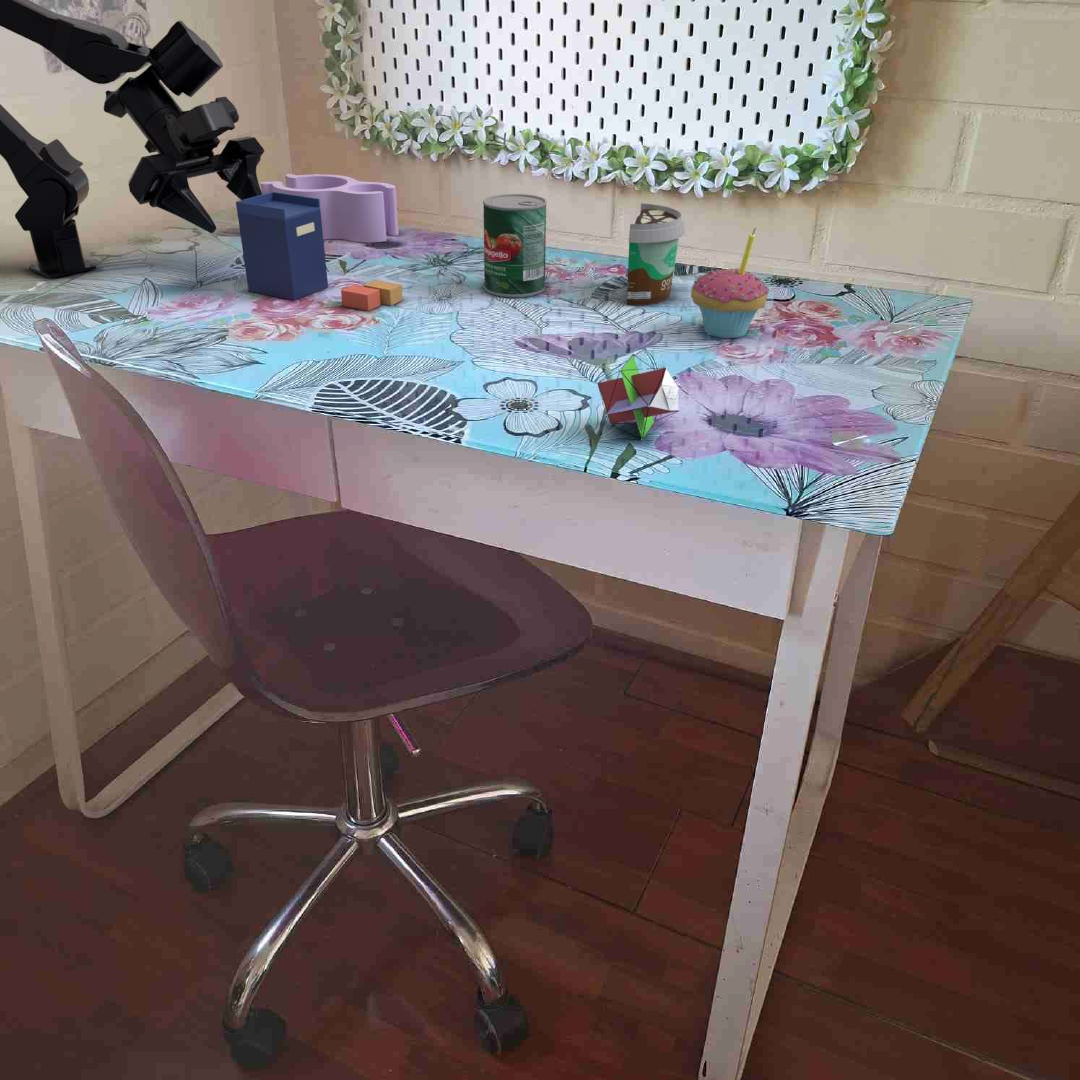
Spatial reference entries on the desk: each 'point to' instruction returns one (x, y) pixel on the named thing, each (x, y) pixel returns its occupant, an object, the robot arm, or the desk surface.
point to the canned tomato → (514, 245)
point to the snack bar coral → (360, 297)
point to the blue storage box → (282, 244)
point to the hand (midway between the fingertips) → (240, 223)
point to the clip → (346, 205)
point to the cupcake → (729, 298)
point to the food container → (653, 254)
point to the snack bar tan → (387, 291)
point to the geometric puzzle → (639, 396)
